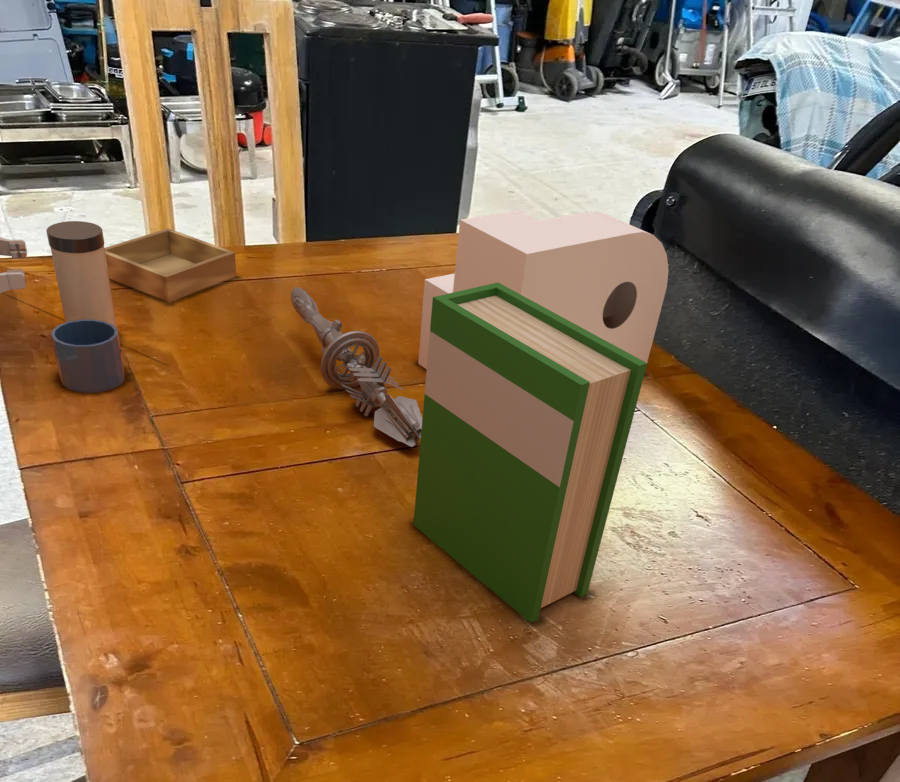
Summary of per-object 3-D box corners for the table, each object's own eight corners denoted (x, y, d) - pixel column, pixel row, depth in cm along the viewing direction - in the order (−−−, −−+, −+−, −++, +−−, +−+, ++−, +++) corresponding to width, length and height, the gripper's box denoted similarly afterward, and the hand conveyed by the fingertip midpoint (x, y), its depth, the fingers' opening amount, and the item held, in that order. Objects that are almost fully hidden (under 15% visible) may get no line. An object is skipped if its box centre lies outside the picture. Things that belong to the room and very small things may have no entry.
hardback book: (586, 596, 84) (647, 363, 69) (530, 624, 81) (581, 385, 65) (468, 504, 94) (497, 282, 78) (413, 526, 90) (432, 297, 75)
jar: (57, 341, 113) (34, 229, 104) (96, 326, 117) (77, 217, 108) (91, 356, 111) (70, 243, 102) (130, 341, 115) (113, 230, 106)
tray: (101, 278, 129) (96, 250, 126) (170, 254, 138) (168, 228, 135) (169, 306, 124) (166, 277, 121) (236, 279, 133) (235, 252, 130)
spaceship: (327, 270, 118) (276, 255, 113) (461, 417, 99) (407, 406, 94) (305, 323, 122) (254, 310, 117) (429, 474, 103) (376, 467, 98)
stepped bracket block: (558, 328, 131) (585, 181, 118) (643, 376, 122) (683, 223, 108) (418, 364, 118) (430, 204, 104) (501, 422, 108) (526, 253, 95)
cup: (48, 380, 105) (37, 332, 101) (96, 360, 110) (88, 313, 106) (90, 400, 103) (80, 352, 99) (137, 379, 108) (131, 332, 104)
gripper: (-126, 275, 92) (18, 270, 97) (-104, 208, 107) (21, 207, 111) (-107, 332, 96) (30, 326, 101) (-88, 261, 111) (31, 258, 115)
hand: (25, 263), depth 106 cm, fingers open, 8 cm apart
